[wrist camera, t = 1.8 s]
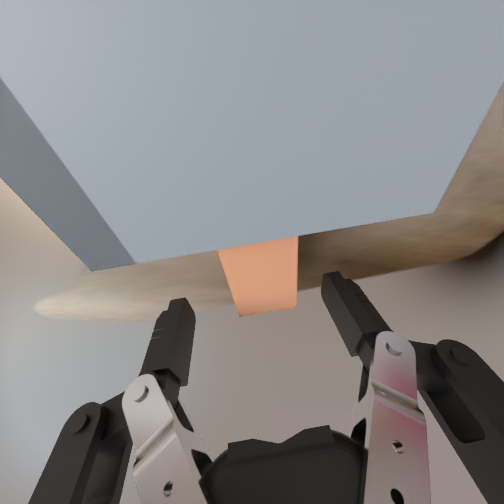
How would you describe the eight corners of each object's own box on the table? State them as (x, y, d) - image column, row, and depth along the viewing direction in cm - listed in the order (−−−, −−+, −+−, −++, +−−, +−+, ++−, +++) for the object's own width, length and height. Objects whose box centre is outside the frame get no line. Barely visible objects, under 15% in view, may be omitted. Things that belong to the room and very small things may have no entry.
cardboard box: (256, -72, 7) (318, -444, 2) (277, 247, 16) (297, 307, 12) (157, -52, 7) (4, -377, 2) (235, 255, 16) (238, 317, 12)
